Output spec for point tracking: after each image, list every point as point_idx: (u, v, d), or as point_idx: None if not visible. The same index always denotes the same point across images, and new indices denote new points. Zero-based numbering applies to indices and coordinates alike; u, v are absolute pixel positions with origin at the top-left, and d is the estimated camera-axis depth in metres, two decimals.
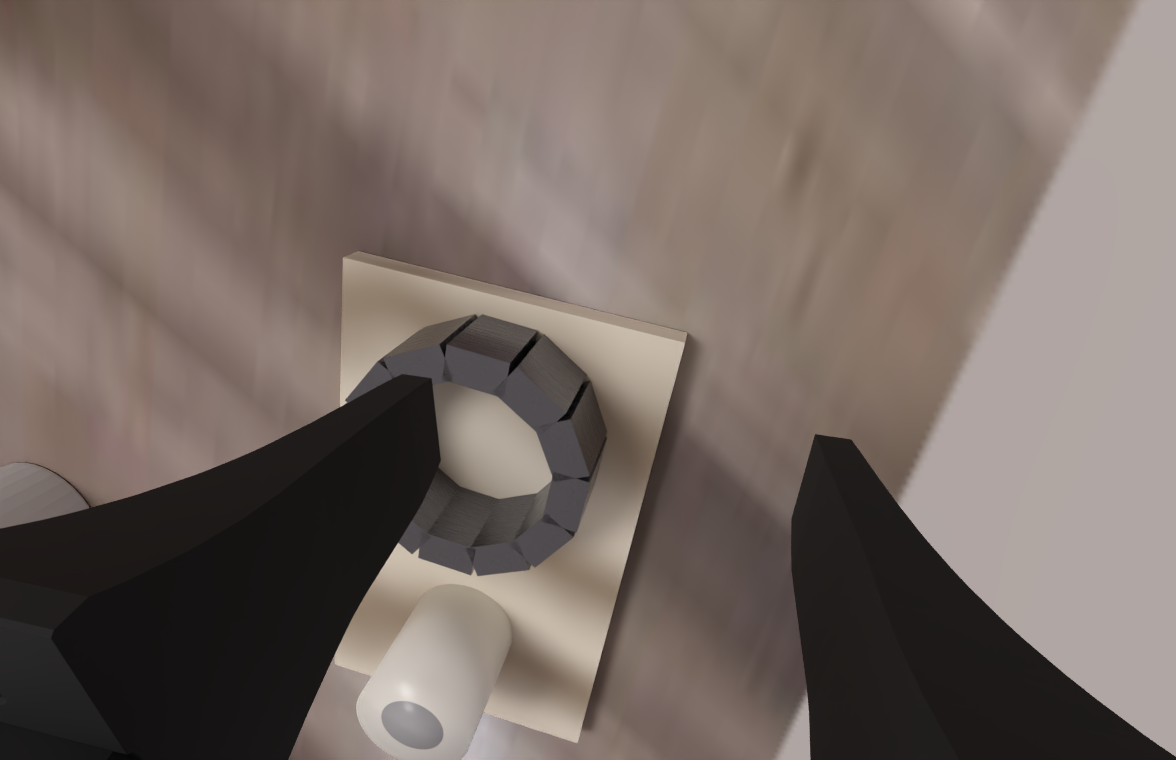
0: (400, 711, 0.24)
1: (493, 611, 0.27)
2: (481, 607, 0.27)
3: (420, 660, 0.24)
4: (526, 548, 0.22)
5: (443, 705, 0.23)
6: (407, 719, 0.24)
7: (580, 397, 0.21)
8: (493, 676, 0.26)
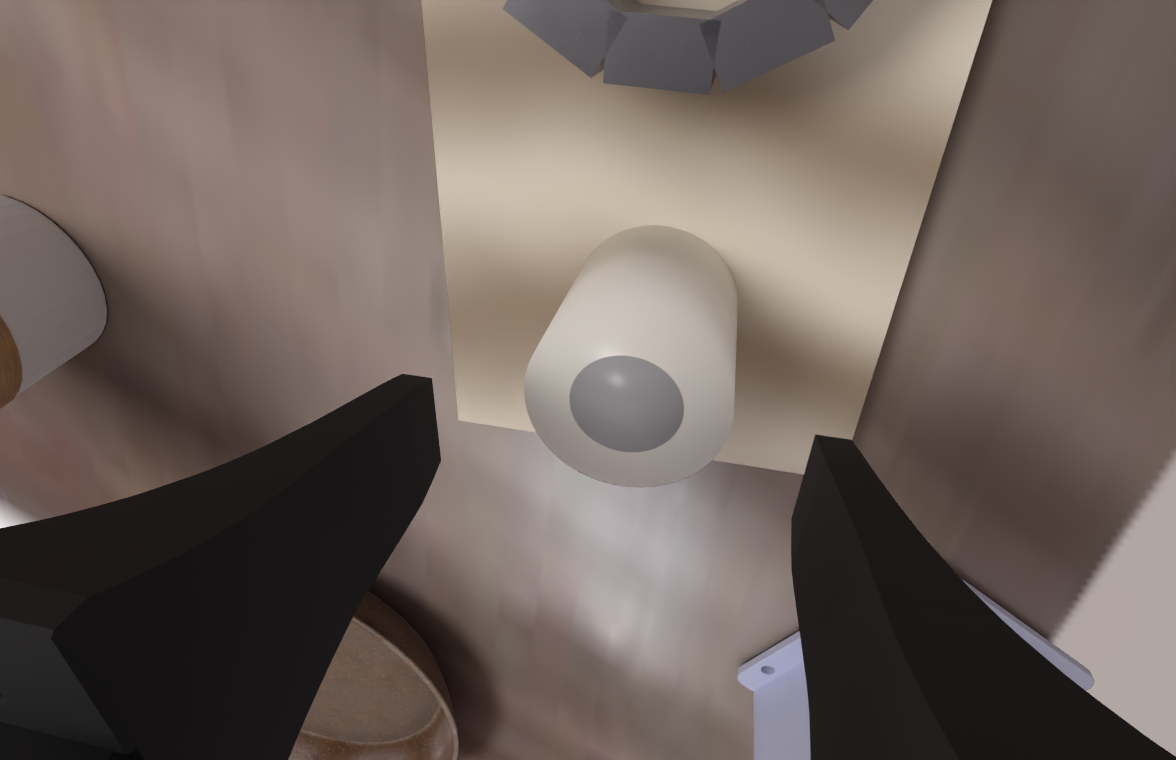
0: (602, 383, 0.13)
1: (710, 253, 0.16)
2: (692, 244, 0.16)
3: (626, 289, 0.13)
4: None
5: (686, 346, 0.13)
6: (616, 395, 0.13)
7: None
8: (735, 339, 0.15)
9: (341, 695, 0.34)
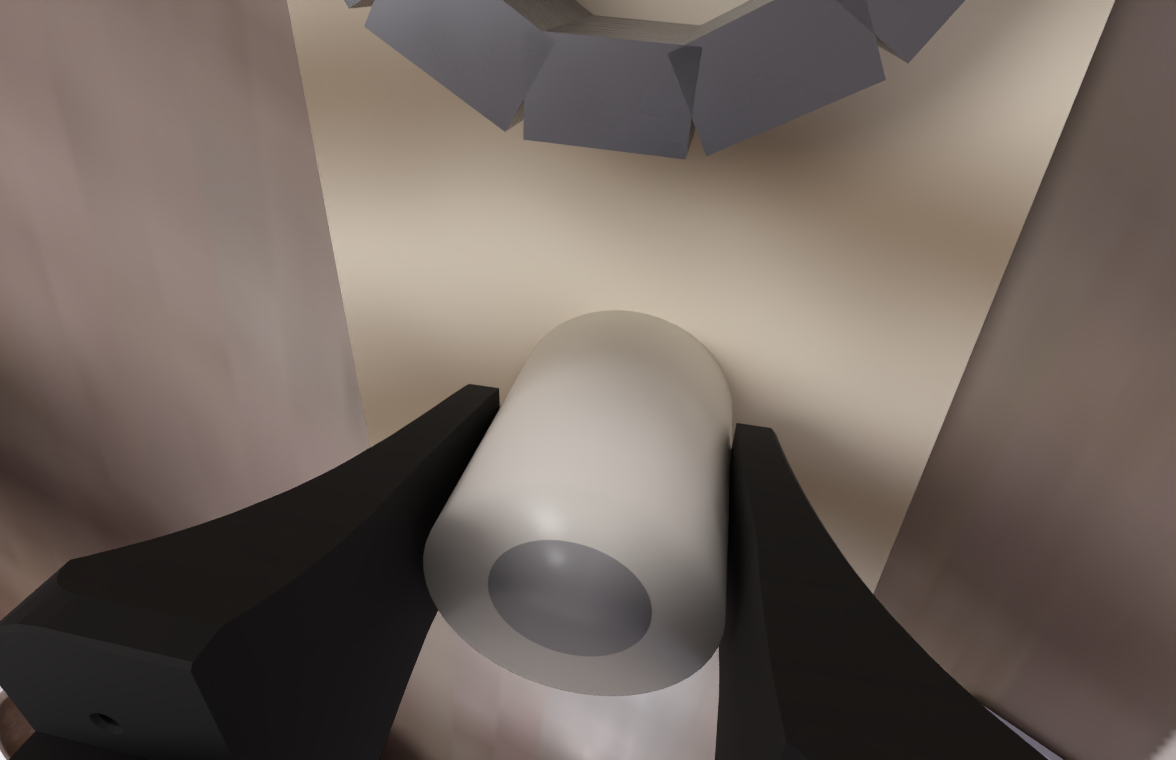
0: (533, 570, 0.09)
1: (695, 352, 0.12)
2: (669, 341, 0.12)
3: (567, 437, 0.09)
4: None
5: (653, 534, 0.08)
6: (554, 587, 0.09)
7: None
8: (729, 480, 0.11)
9: None
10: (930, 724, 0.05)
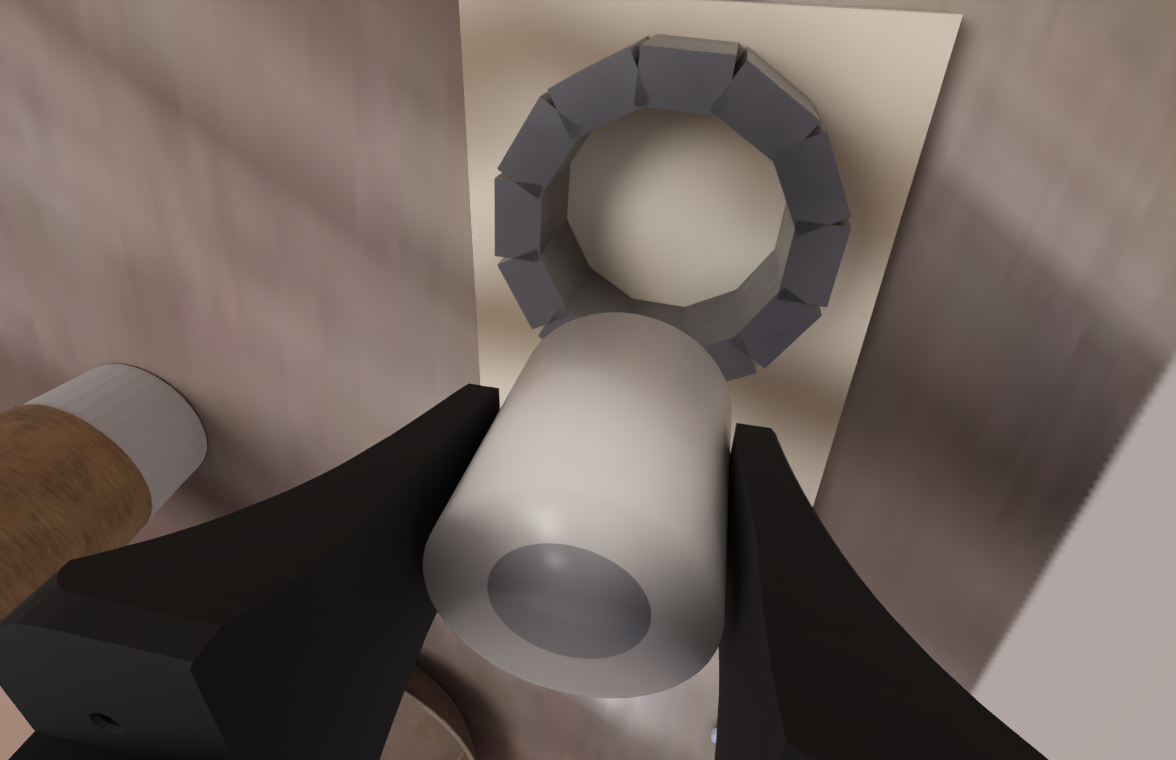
0: (533, 573, 0.09)
1: (694, 354, 0.12)
2: (669, 344, 0.12)
3: (566, 441, 0.09)
4: (753, 343, 0.17)
5: (652, 538, 0.08)
6: (553, 591, 0.09)
7: (817, 117, 0.15)
8: (728, 483, 0.11)
9: None
10: (932, 724, 0.05)
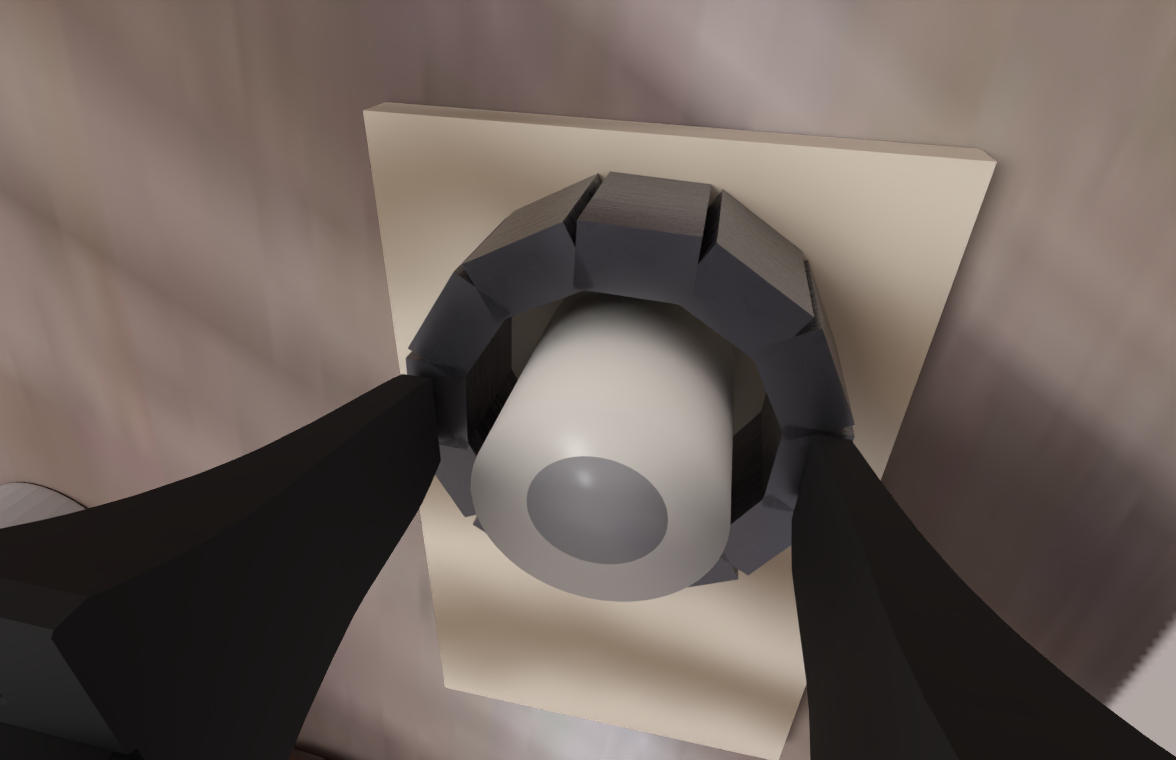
0: (566, 485, 0.11)
1: None
2: None
3: (596, 371, 0.11)
4: (733, 548, 0.13)
5: (670, 447, 0.10)
6: (583, 500, 0.11)
7: (810, 288, 0.12)
8: (732, 417, 0.12)
9: None
10: None
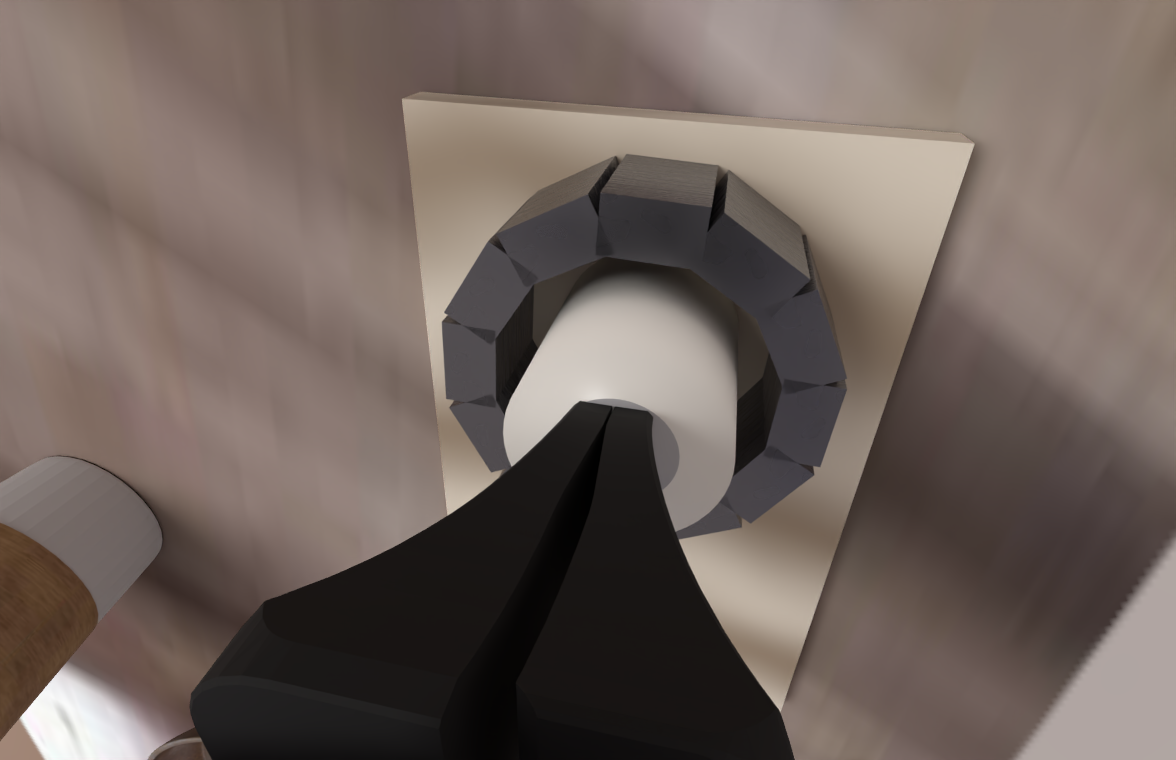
0: None
1: None
2: None
3: (614, 324, 0.12)
4: (737, 498, 0.15)
5: (680, 388, 0.11)
6: None
7: (807, 257, 0.13)
8: (737, 372, 0.14)
9: None
10: (672, 671, 0.06)
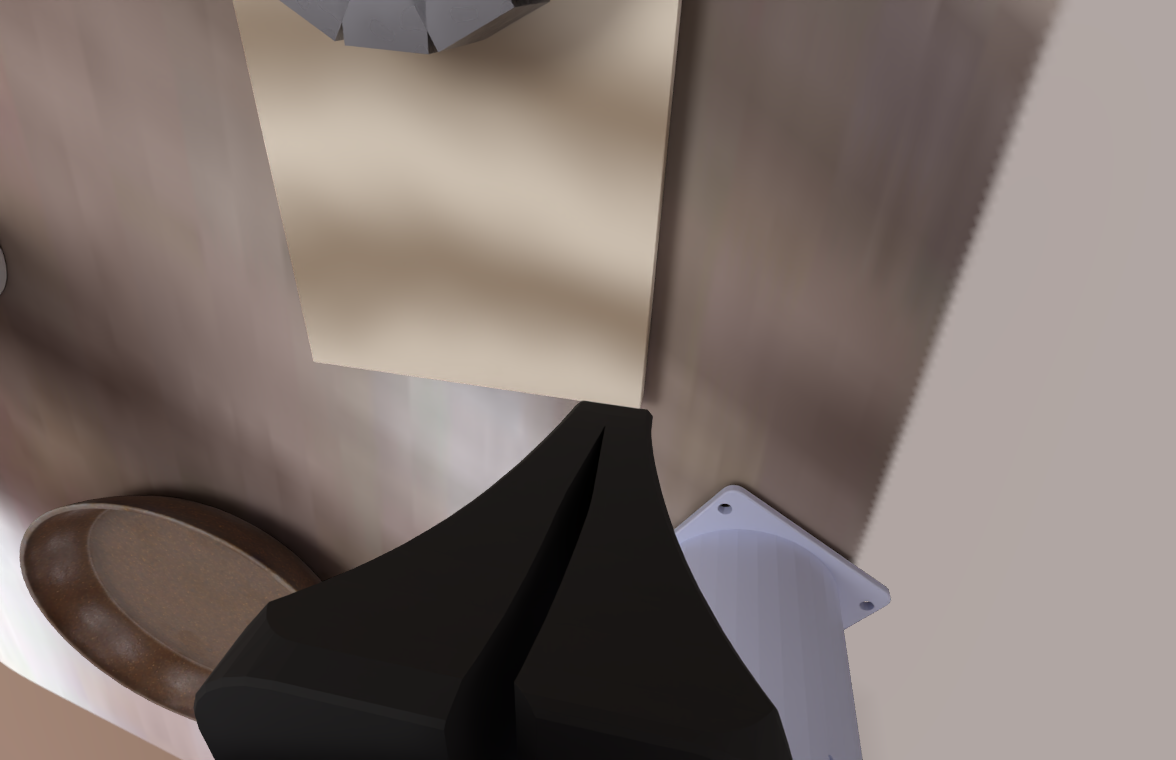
0: None
1: None
2: None
3: None
4: None
5: None
6: None
7: None
8: None
9: None
10: (672, 671, 0.06)
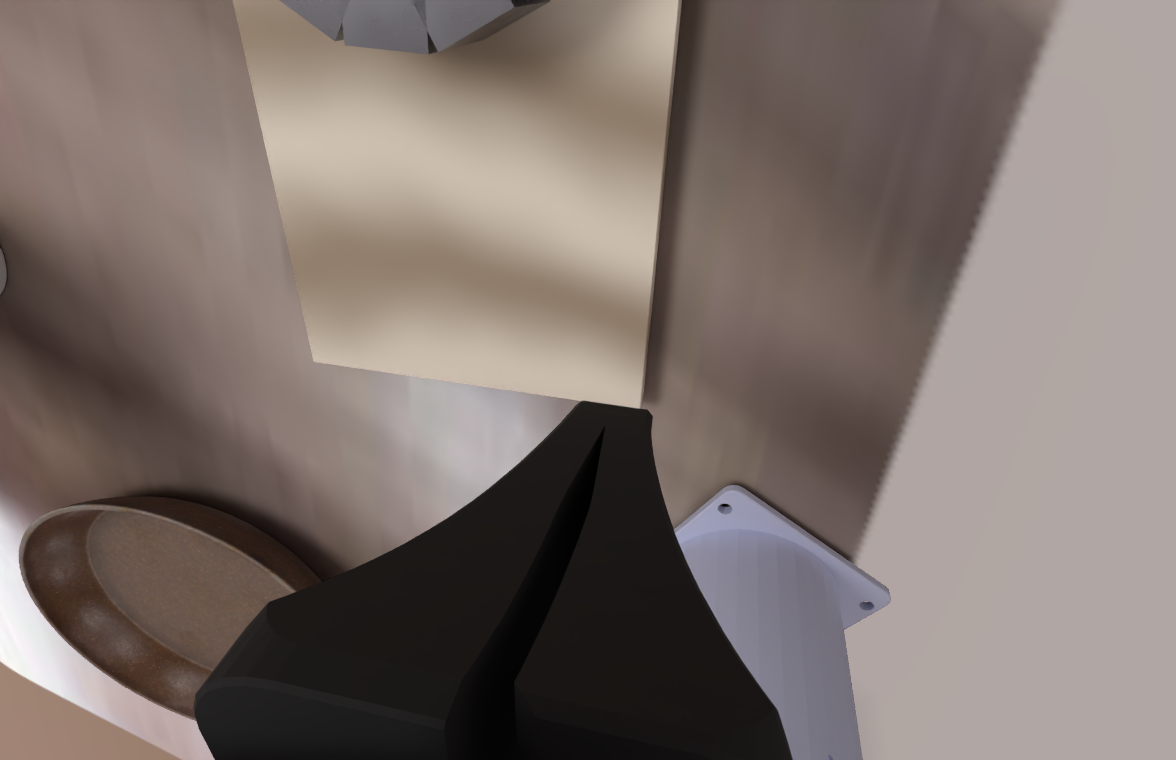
0: None
1: None
2: None
3: None
4: None
5: None
6: None
7: None
8: None
9: None
10: (672, 671, 0.06)
